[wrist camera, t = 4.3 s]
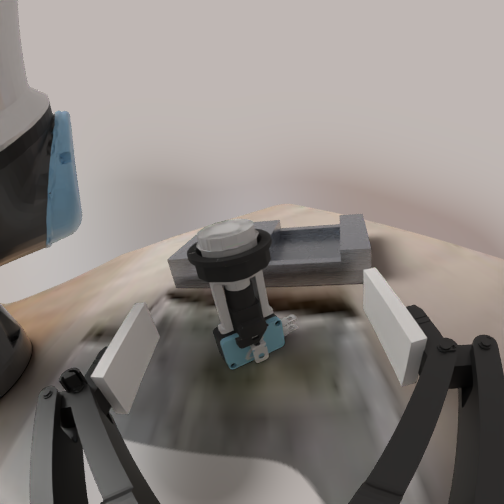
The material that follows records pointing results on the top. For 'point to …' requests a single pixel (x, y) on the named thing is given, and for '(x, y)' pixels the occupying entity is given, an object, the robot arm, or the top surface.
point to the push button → (239, 290)
